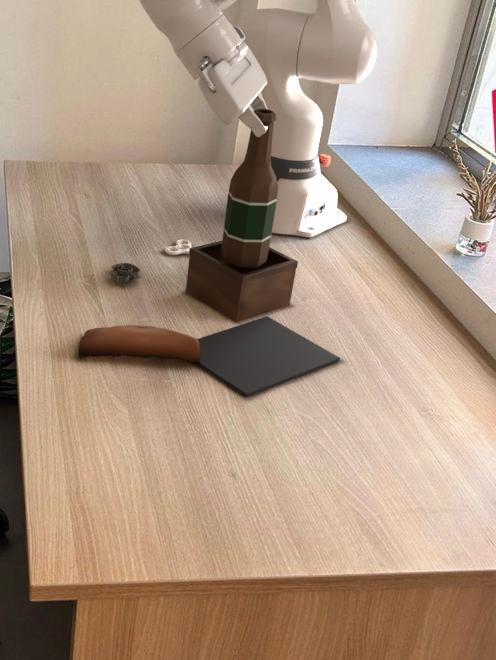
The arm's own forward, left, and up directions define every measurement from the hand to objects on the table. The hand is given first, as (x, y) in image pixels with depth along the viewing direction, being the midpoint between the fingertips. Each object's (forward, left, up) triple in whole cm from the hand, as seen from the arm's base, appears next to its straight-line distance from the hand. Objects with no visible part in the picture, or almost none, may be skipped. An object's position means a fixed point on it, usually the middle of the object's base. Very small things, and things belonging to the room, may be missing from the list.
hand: (266, 129), depth 145 cm
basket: (0, -1, -29) cm, 29 cm away
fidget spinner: (-5, -20, -29) cm, 35 cm away
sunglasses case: (+26, +6, -28) cm, 39 cm away
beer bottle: (0, -1, -22) cm, 22 cm away
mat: (+11, +15, -29) cm, 34 cm away
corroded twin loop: (+12, -17, -29) cm, 35 cm away
